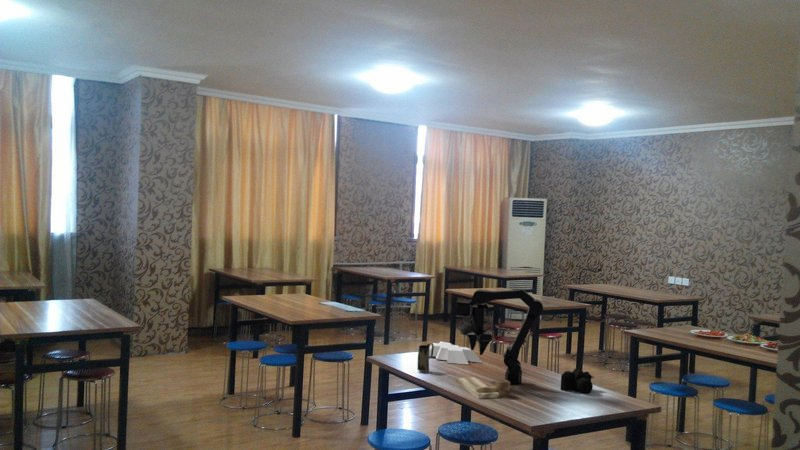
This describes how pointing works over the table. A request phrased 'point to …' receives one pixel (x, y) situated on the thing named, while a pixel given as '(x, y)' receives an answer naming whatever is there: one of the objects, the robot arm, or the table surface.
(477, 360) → the white faceted block
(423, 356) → the mug
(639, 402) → the table surface
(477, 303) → the robot arm
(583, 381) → the film camera
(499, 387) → the wooden mallet
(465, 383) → the board
